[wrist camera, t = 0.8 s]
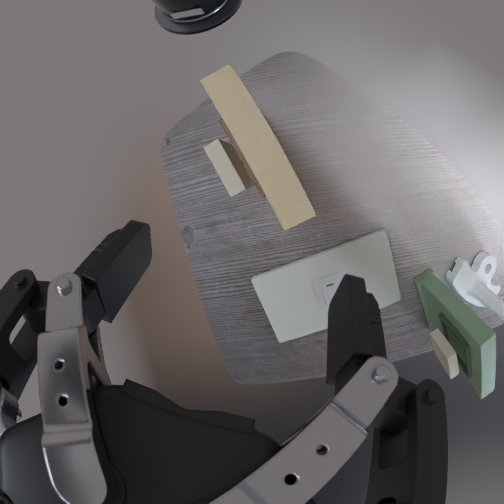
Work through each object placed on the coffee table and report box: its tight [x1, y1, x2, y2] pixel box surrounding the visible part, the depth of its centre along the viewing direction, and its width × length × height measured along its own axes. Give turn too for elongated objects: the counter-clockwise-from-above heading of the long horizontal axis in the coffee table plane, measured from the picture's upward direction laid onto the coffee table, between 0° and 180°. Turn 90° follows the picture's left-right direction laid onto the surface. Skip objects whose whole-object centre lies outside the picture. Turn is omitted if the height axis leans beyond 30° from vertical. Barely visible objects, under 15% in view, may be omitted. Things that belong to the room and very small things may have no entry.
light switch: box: [251, 229, 401, 343], centre depth 32 cm, size 17×1×10 cm
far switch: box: [430, 328, 459, 379], centre depth 23 cm, size 1×4×5 cm, turn 33°
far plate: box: [413, 268, 496, 399], centre depth 24 cm, size 3×10×16 cm, turn 34°
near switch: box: [204, 139, 254, 197], centre depth 20 cm, size 1×4×5 cm, turn 29°
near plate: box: [200, 64, 316, 231], centre depth 21 cm, size 3×10×16 cm, turn 29°
